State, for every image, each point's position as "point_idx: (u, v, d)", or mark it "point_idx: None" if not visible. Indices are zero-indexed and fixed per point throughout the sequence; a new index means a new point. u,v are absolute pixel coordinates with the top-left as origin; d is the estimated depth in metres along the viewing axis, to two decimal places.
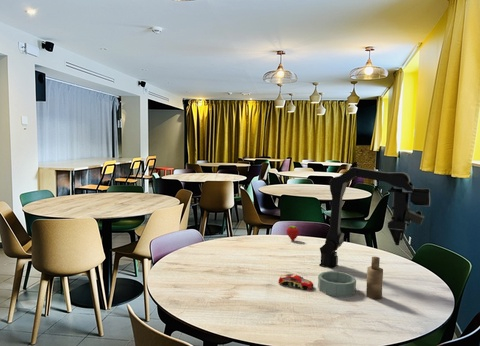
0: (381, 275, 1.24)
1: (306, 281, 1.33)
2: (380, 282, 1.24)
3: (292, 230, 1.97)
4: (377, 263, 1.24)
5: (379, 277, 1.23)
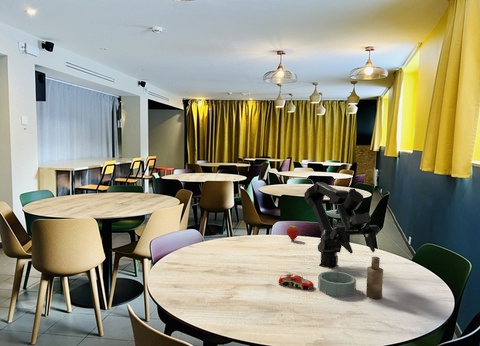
0: (381, 275, 1.24)
1: (306, 281, 1.33)
2: (380, 282, 1.24)
3: (292, 230, 1.97)
4: (377, 263, 1.24)
5: (379, 277, 1.23)
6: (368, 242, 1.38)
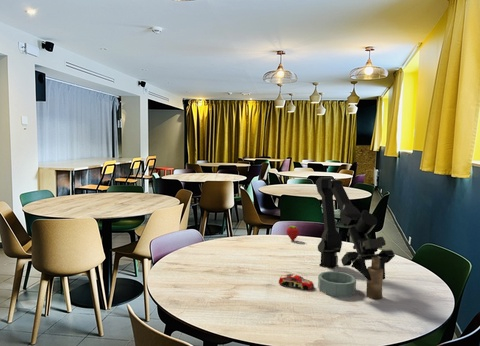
0: (381, 275, 1.24)
1: (306, 281, 1.33)
2: (380, 282, 1.24)
3: (292, 230, 1.97)
4: (377, 263, 1.24)
5: (379, 277, 1.23)
6: None
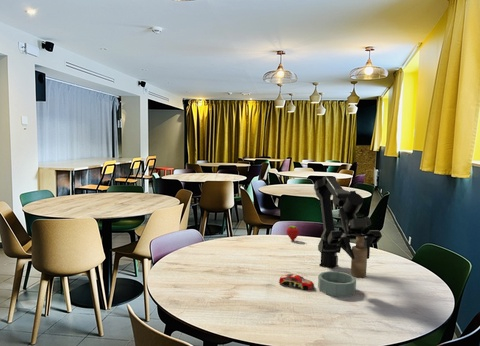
0: (364, 254, 1.25)
1: (306, 281, 1.33)
2: (363, 261, 1.25)
3: (292, 230, 1.97)
4: (361, 242, 1.26)
5: (362, 256, 1.25)
6: None
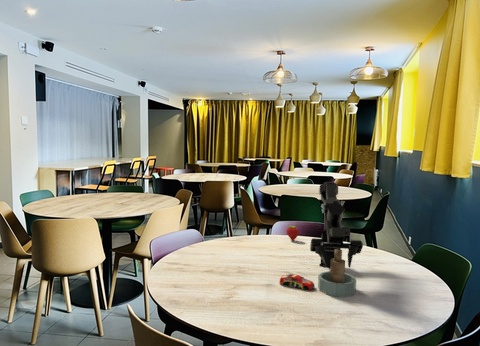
0: (341, 267, 1.29)
1: (306, 281, 1.33)
2: (340, 273, 1.29)
3: (292, 230, 1.97)
4: (338, 255, 1.30)
5: (338, 269, 1.29)
6: (348, 257, 1.34)
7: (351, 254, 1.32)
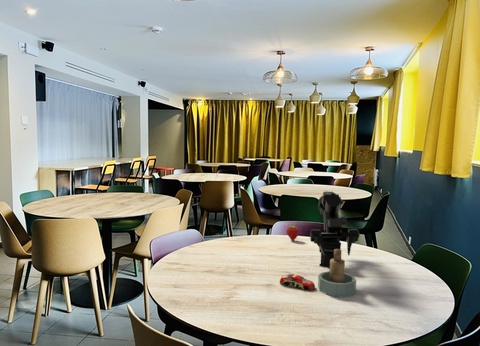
0: (341, 267, 1.29)
1: (307, 281, 1.33)
2: (339, 273, 1.30)
3: (292, 230, 1.97)
4: (338, 255, 1.30)
5: (338, 269, 1.29)
6: (347, 245, 1.42)
7: (350, 243, 1.40)
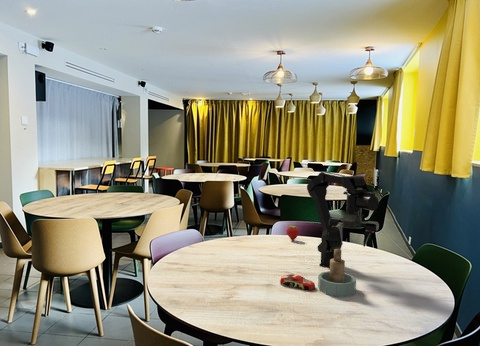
0: (341, 267, 1.29)
1: (307, 282, 1.33)
2: (339, 273, 1.29)
3: (292, 230, 1.97)
4: (338, 255, 1.30)
5: (338, 269, 1.29)
6: None
7: (366, 236, 1.41)
